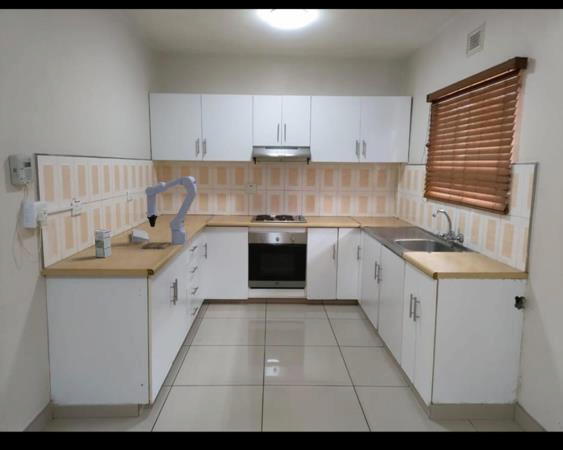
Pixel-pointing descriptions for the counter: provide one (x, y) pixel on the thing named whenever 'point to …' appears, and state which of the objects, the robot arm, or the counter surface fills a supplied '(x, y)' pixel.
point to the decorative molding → (139, 236)
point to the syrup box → (102, 243)
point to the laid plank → (162, 245)
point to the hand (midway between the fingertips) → (152, 226)
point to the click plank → (150, 245)
